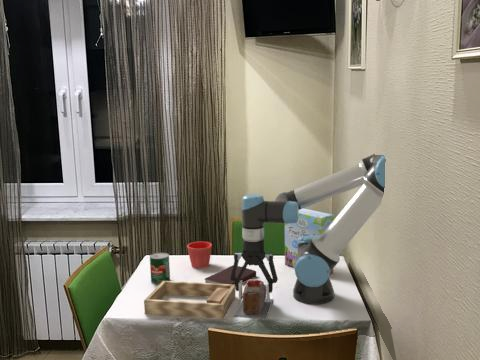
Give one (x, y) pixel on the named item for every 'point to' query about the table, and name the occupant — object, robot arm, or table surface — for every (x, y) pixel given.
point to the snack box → (304, 231)
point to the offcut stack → (217, 295)
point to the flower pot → (199, 254)
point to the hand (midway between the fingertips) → (254, 300)
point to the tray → (188, 309)
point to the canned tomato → (159, 267)
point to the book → (225, 276)
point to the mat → (262, 315)
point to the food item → (254, 296)
